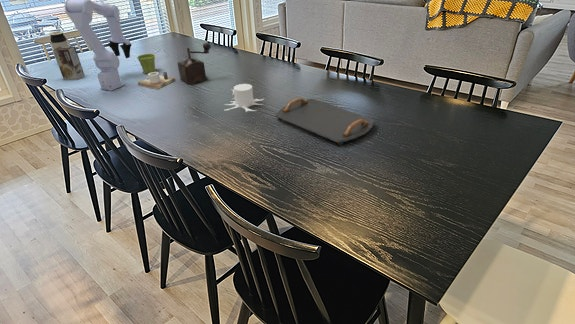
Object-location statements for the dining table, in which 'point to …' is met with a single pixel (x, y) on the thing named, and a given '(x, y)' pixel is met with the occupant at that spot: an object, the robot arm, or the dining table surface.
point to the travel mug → (58, 39)
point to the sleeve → (154, 78)
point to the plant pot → (147, 62)
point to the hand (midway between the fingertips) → (122, 56)
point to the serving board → (325, 119)
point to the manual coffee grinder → (193, 68)
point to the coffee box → (68, 62)
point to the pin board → (164, 81)
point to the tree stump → (243, 97)
